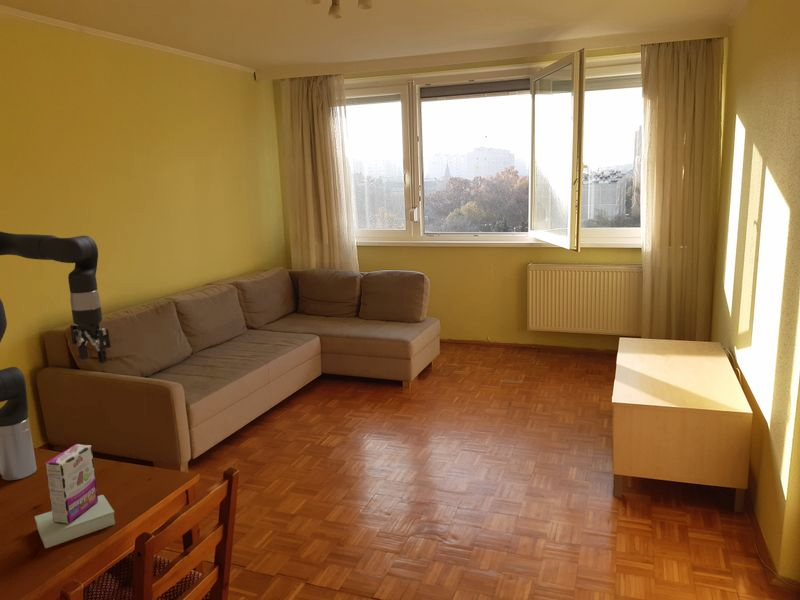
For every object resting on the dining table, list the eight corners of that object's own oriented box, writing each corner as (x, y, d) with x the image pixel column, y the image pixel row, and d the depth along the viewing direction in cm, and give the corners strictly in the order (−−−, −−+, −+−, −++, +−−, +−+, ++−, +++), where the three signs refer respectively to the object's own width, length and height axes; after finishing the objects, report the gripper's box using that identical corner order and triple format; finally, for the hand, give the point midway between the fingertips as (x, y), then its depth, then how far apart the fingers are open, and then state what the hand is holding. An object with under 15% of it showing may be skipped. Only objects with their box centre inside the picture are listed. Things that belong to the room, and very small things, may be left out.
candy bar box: (82, 500, 165) (76, 442, 161) (98, 502, 164) (93, 444, 160) (51, 522, 154) (44, 462, 151) (68, 525, 153) (62, 464, 150)
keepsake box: (44, 551, 150) (42, 536, 149) (36, 530, 158) (34, 516, 158) (116, 525, 160) (114, 511, 159) (104, 508, 168) (103, 494, 168)
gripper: (58, 307, 176) (66, 361, 179) (89, 311, 169) (97, 367, 172) (82, 301, 182) (89, 354, 186) (113, 305, 175) (120, 360, 179)
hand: (93, 360), depth 179 cm, fingers open, 8 cm apart
